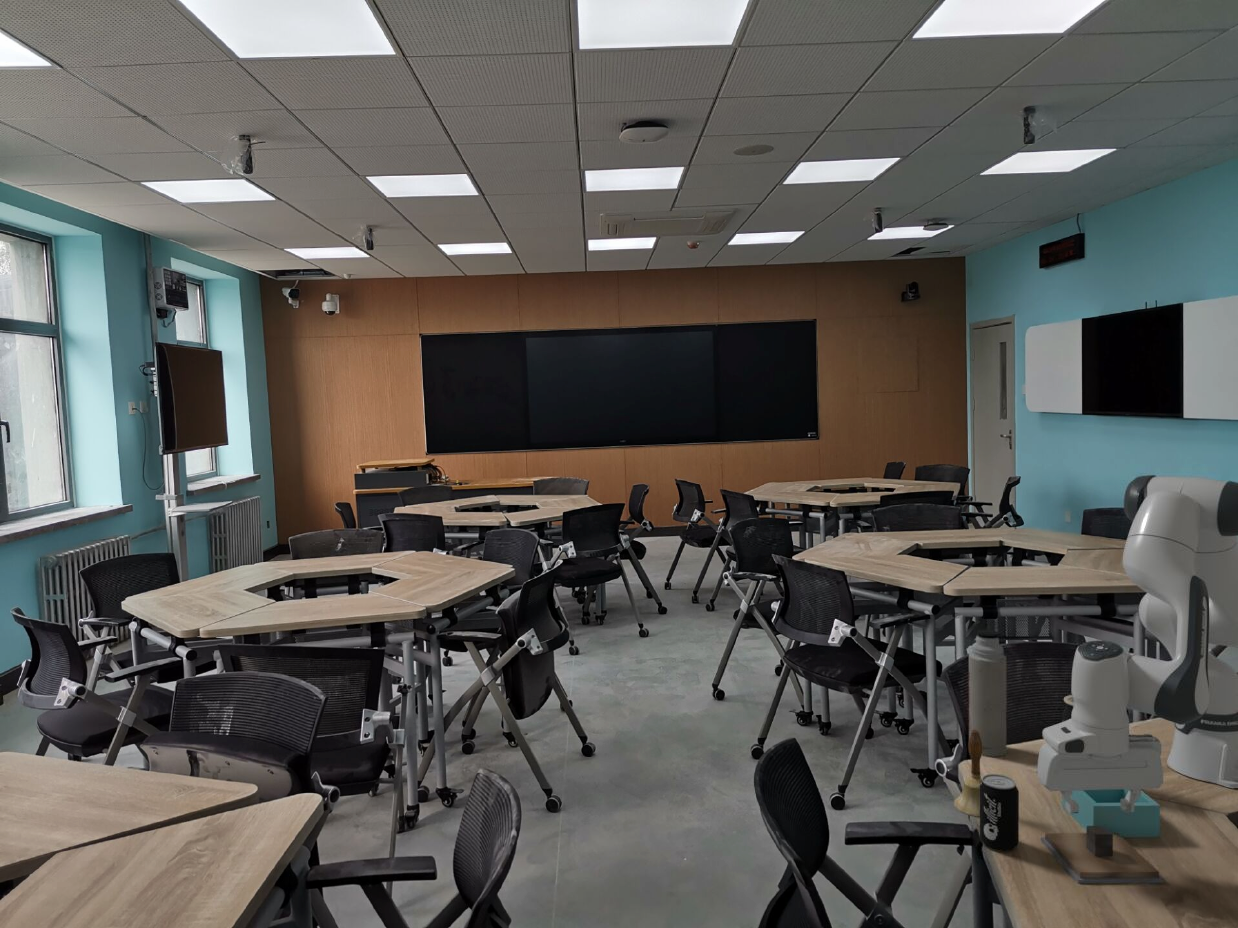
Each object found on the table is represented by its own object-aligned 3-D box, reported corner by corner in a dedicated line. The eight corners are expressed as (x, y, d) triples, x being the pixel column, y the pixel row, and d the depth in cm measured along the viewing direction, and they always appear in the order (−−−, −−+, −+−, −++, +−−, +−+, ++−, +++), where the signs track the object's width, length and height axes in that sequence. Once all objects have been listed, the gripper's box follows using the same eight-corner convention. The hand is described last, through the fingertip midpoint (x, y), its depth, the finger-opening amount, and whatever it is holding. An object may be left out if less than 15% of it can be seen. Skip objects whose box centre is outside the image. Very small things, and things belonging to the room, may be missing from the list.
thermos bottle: (963, 750, 198) (962, 632, 196) (977, 739, 203) (977, 625, 201) (998, 759, 192) (998, 638, 190) (1011, 748, 197) (1011, 630, 195)
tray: (1118, 839, 156) (1118, 836, 156) (1163, 882, 142) (1163, 879, 142) (1040, 840, 157) (1040, 837, 157) (1078, 882, 143) (1078, 879, 143)
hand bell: (995, 821, 164) (995, 741, 163) (950, 811, 169) (949, 733, 168) (1001, 803, 171) (1001, 726, 170) (958, 794, 176) (957, 719, 175)
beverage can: (1022, 854, 152) (1022, 789, 152) (983, 851, 154) (983, 787, 153) (1013, 835, 159) (1013, 773, 158) (976, 833, 160) (976, 771, 159)
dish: (1123, 805, 169) (1124, 776, 168) (1159, 836, 157) (1159, 805, 156) (1062, 806, 169) (1062, 777, 169) (1093, 837, 157) (1093, 805, 157)
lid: (1117, 837, 156) (1117, 811, 155) (1158, 877, 143) (1159, 848, 142) (1045, 838, 156) (1045, 812, 156) (1080, 877, 143) (1080, 849, 143)
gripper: (1150, 726, 151) (1150, 801, 152) (1033, 729, 152) (1033, 803, 153) (1171, 741, 145) (1171, 818, 146) (1049, 744, 146) (1049, 821, 147)
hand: (1099, 811), depth 149 cm, fingers open, 8 cm apart
